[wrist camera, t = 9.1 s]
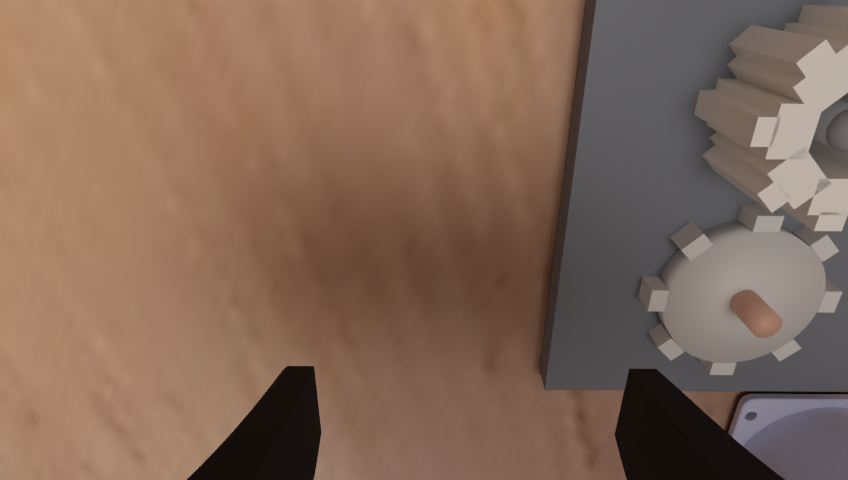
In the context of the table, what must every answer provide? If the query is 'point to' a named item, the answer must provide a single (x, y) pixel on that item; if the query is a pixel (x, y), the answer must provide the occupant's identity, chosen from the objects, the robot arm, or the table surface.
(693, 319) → the gear board
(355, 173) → the table surface
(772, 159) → the idler gear
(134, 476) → the table surface
